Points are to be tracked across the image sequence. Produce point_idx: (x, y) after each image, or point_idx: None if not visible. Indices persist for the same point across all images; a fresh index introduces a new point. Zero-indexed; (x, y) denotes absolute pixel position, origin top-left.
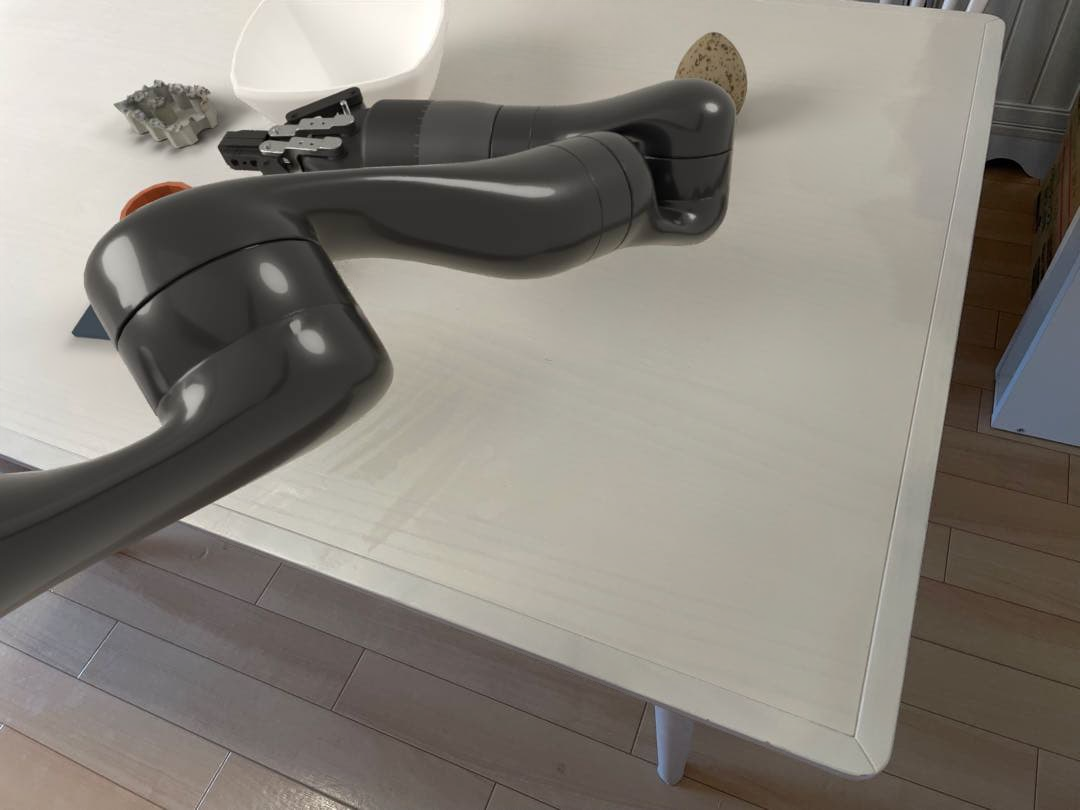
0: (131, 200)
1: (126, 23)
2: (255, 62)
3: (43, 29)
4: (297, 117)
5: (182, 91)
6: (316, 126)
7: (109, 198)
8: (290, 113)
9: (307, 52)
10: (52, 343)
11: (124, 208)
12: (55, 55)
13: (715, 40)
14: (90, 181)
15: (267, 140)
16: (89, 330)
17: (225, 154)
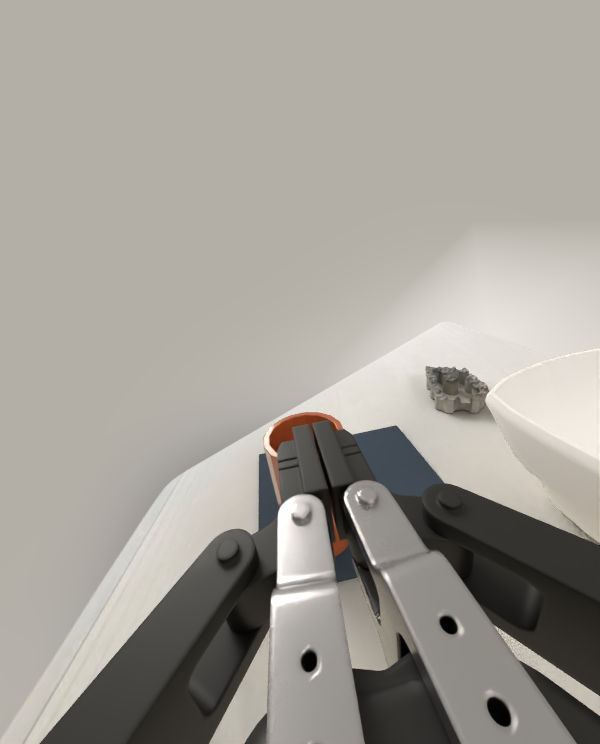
0: (305, 413)
1: (487, 342)
2: (540, 388)
3: (447, 330)
4: (451, 521)
5: (473, 381)
6: (450, 675)
7: (372, 406)
8: (444, 493)
9: None
10: (253, 450)
11: (295, 415)
12: (439, 340)
13: None
14: (377, 393)
15: (341, 495)
16: (262, 462)
17: (279, 448)
